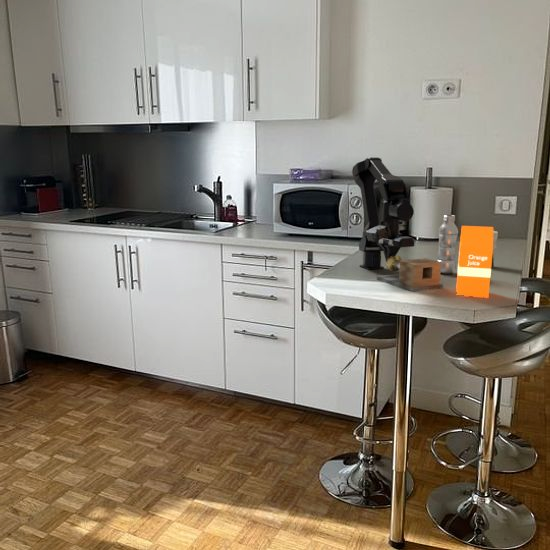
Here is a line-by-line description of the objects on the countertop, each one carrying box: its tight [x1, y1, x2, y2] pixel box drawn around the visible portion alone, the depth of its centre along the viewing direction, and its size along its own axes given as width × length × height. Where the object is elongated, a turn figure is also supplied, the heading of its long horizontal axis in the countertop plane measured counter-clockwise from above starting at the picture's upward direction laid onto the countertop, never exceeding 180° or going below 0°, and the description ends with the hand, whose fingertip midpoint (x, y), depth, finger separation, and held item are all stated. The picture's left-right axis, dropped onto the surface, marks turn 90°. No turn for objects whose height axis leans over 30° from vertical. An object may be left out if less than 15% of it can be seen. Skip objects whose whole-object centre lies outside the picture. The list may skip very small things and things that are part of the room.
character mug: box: [491, 230, 499, 268], centre depth 199 cm, size 11×7×13 cm, turn 3°
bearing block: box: [376, 257, 444, 292], centre depth 174 cm, size 18×12×8 cm, turn 25°
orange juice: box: [455, 225, 494, 299], centre depth 160 cm, size 8×9×20 cm
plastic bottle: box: [436, 214, 459, 275], centre depth 187 cm, size 6×7×20 cm
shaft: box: [386, 254, 403, 272], centre depth 176 cm, size 12×5×5 cm, turn 25°
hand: (388, 264), depth 183 cm, fingers closed
